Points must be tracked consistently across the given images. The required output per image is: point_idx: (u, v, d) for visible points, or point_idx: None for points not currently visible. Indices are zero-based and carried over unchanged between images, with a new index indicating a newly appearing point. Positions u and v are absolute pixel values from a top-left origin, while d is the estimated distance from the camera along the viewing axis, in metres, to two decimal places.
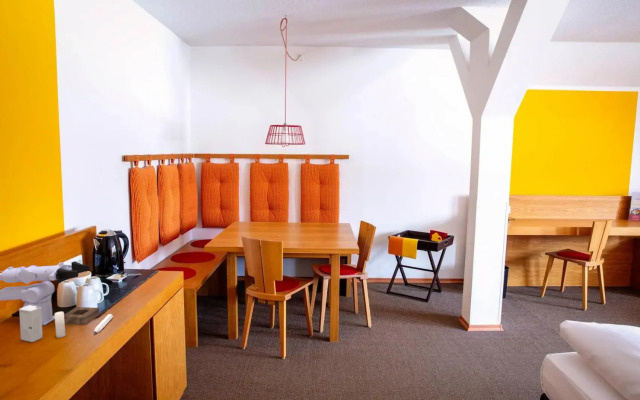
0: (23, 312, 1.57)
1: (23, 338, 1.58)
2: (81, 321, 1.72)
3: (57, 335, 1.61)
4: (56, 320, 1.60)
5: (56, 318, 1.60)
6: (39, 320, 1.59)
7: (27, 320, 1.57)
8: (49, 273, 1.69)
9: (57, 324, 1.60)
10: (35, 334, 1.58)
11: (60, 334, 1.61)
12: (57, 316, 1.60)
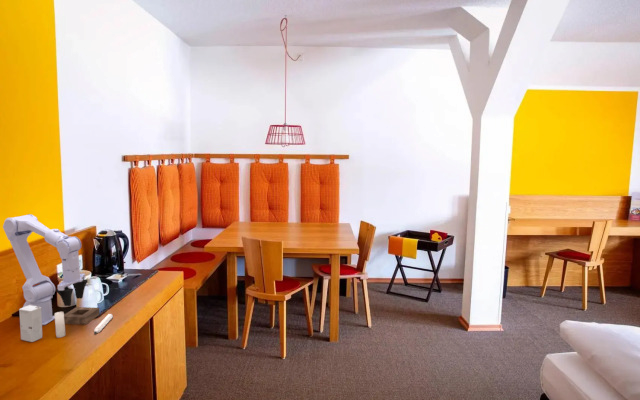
0: (23, 312, 1.57)
1: (23, 338, 1.58)
2: (81, 321, 1.72)
3: (57, 335, 1.61)
4: (56, 320, 1.60)
5: (56, 318, 1.60)
6: (39, 320, 1.59)
7: (27, 320, 1.57)
8: (68, 274, 1.64)
9: (57, 324, 1.60)
10: (35, 334, 1.58)
11: (60, 334, 1.61)
12: (57, 316, 1.60)
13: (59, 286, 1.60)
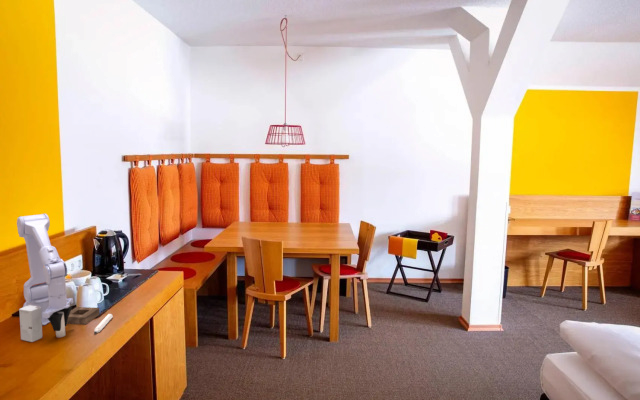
0: (23, 312, 1.57)
1: (23, 338, 1.58)
2: (81, 321, 1.72)
3: (57, 335, 1.61)
4: None
5: None
6: (39, 320, 1.59)
7: (27, 320, 1.57)
8: (54, 300, 1.58)
9: None
10: (35, 334, 1.58)
11: (60, 334, 1.61)
12: None
13: (44, 313, 1.54)
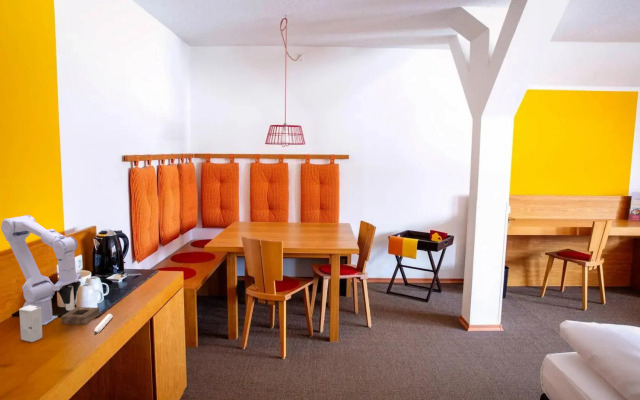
0: (23, 312, 1.57)
1: (23, 338, 1.58)
2: (81, 321, 1.72)
3: (67, 308, 1.68)
4: None
5: None
6: (39, 320, 1.59)
7: (27, 320, 1.57)
8: (64, 274, 1.64)
9: None
10: (35, 334, 1.58)
11: (69, 307, 1.68)
12: None
13: (54, 286, 1.60)
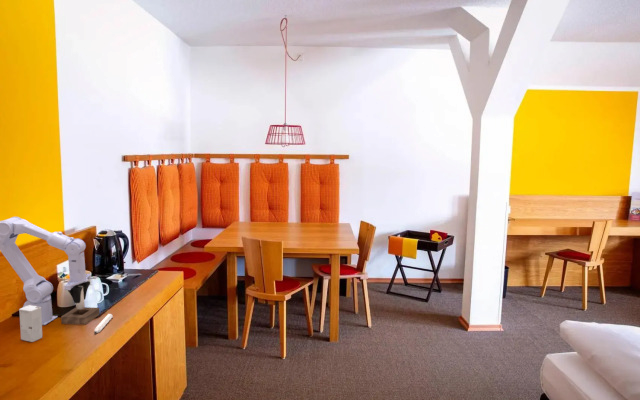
0: (23, 312, 1.57)
1: (23, 338, 1.58)
2: (81, 321, 1.72)
3: (77, 307, 1.75)
4: None
5: None
6: (39, 320, 1.59)
7: (27, 320, 1.57)
8: (74, 274, 1.72)
9: None
10: (35, 334, 1.58)
11: (80, 306, 1.75)
12: None
13: (66, 286, 1.68)
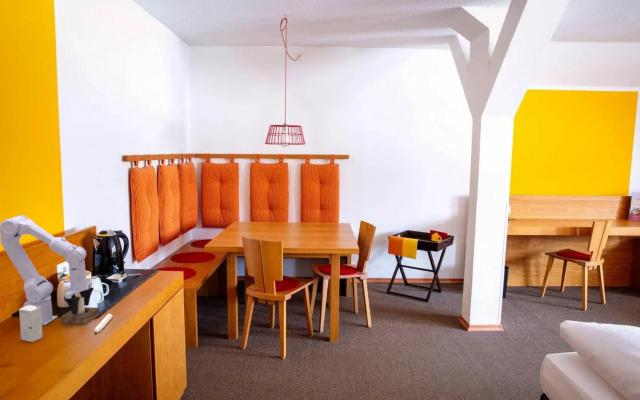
0: (23, 312, 1.57)
1: (23, 338, 1.58)
2: (81, 321, 1.72)
3: None
4: None
5: None
6: (39, 320, 1.59)
7: (27, 320, 1.57)
8: (75, 282, 1.72)
9: (78, 308, 1.75)
10: (35, 334, 1.58)
11: None
12: None
13: (66, 294, 1.68)
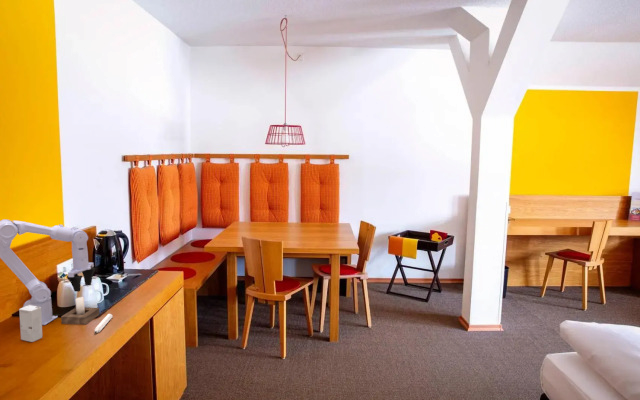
0: (23, 312, 1.57)
1: (23, 338, 1.58)
2: (81, 321, 1.72)
3: None
4: (77, 304, 1.75)
5: (77, 303, 1.75)
6: (39, 320, 1.59)
7: (27, 320, 1.57)
8: (77, 262, 1.79)
9: (78, 308, 1.75)
10: (35, 334, 1.58)
11: None
12: (78, 301, 1.75)
13: (69, 273, 1.76)
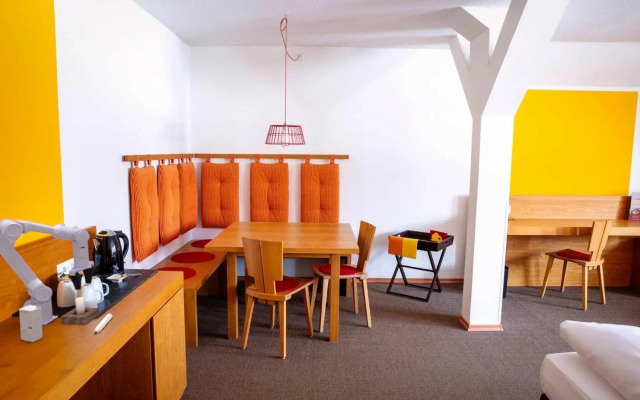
0: (23, 312, 1.57)
1: (23, 338, 1.58)
2: (81, 321, 1.72)
3: None
4: (77, 304, 1.75)
5: (77, 303, 1.75)
6: (39, 320, 1.59)
7: (27, 320, 1.57)
8: (78, 260, 1.82)
9: (78, 308, 1.75)
10: (35, 334, 1.58)
11: None
12: (78, 301, 1.75)
13: (70, 271, 1.78)
